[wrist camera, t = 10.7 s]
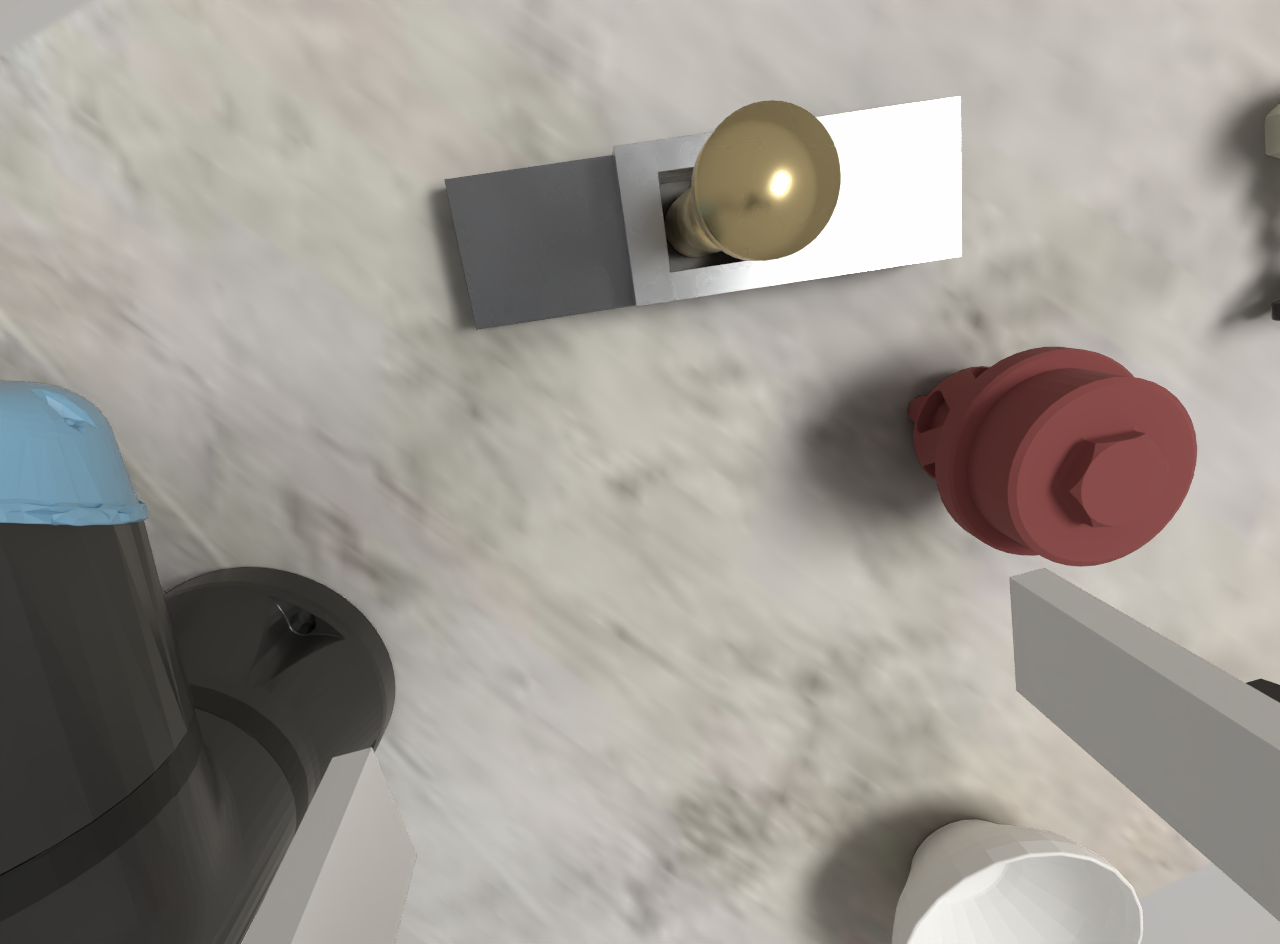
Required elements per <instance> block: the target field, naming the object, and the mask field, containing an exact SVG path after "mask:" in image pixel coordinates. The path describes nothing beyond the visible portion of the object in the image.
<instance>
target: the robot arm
mask: <svg viewBox="0 0 1280 944" xmlns="http://www.w3.org/2000/svg"><path fill="white" fill-rule="evenodd" d="M147 518H148V513H147V509H146V506H145V503H143V502H141V501H140V500H138V499H137V497H136V495H135V492H134V489H133V486H132V484H131V481H130V478H129V475H128V472H127V470H126V467H125V464H124V461H123V459H122V456H121V453H120V450H119V448H118V445H117V442H116V439H115V436H114V433H113V430H112V428H111V426H110V424H109V422H108V420H107V419H106V417H105V416H104V415H103V413H102V412H101V411H100V410H99V409H98V408H97V407H96V406H95V405H94V404H92V403H91V402H90V401H88V400H87V399H85V398H84V397H82V396H80V395H79V394H77V393H75V392H72V391H70V390H67V389H64V388H61V387H58V386H54V385H50V384H45V383H37V382H24V381H1V380H0V944H241V942H242V941H243V939H244V937H245V935H246V933H247V931H248V929H249V931H248V933H247V935H246V937H245V939H244V941H243V943H242V944H395V941H396V937H397V933H398V929H399V925H400V921H401V917H402V914H403V910H404V906H405V902H406V898H407V894H408V890H409V886H410V882H411V878H412V874H413V870H414V866H415V862H416V858H417V854H416V852H415V849H414V847H413V845H412V842H411V840H410V837H409V835H408V833H407V830H406V828H405V825H404V823H403V821H402V818H401V816H400V813H399V811H398V809H397V806H396V804H395V801H394V799H393V797H392V794H391V792H390V789H389V787H388V785H387V782H386V780H385V777H384V775H383V773H382V770H381V768H380V765H379V763H378V761H377V758H376V756H375V751H376V749H377V747H378V745H379V743H380V741H381V738H382V736H383V734H384V732H385V730H386V727H387V725H388V723H389V720H390V718H391V714H392V711H393V706H394V700H395V677H394V671H393V667H392V663H391V660H390V657H389V654H388V651H387V649H386V647H385V645H384V643H383V641H382V639H381V637H380V636H379V634H378V633H377V631H376V630H375V628H374V627H373V626H372V624H371V623H370V622H369V621H368V619H367V618H366V617H365V616H364V615H363V614H362V613H361V612H360V611H359V610H358V609H357V608H356V607H355V606H353V605H352V604H351V603H350V602H349V601H347V600H346V599H345V598H343V597H342V596H340V595H339V594H337V593H336V592H334V591H333V590H331V589H329V588H327V587H326V586H324V585H322V584H319V583H317V582H315V581H313V580H310V579H308V578H305V577H302V576H299V575H296V574H292V573H289V572H285V571H280V570H274V569H266V568H232V569H225V570H220V571H215V572H211V573H207V574H204V575H201V576H198V577H195V578H193V579H191V580H189V581H186V582H185V583H183V584H181V585H179V586H177V587H176V588H174V589H173V590H171V591H170V592H168V593H167V594H166V595H163V592H162V588H161V585H160V581H159V578H158V574H157V570H156V566H155V562H154V558H153V554H152V550H151V546H150V543H149V539H148V535H147V531H146V527H145V523H144V520H145V519H147ZM1009 578H1010V594H1011V611H1012V628H1013V644H1014V661H1015V677H1016V690H1017V691H1018V692H1019V693H1020V694H1021V695H1022V696H1023V697H1024V698H1026V699H1027V700H1028V701H1029V702H1030V703H1031V704H1032V705H1034V706H1035V707H1036V708H1037V709H1038V710H1039V711H1040V712H1042V713H1043V714H1044V715H1045V716H1046V717H1047V718H1048V719H1050V720H1051V721H1052V722H1053V723H1054V724H1055V725H1056V726H1058V727H1059V728H1060V729H1061V730H1062V731H1063V732H1064V733H1065V734H1067V735H1068V736H1069V737H1070V738H1071V739H1072V740H1073V741H1075V742H1076V743H1077V744H1078V745H1079V746H1080V747H1081V748H1083V749H1084V750H1085V751H1086V752H1087V753H1088V754H1089V755H1091V756H1092V757H1093V758H1094V759H1095V760H1096V761H1097V762H1099V763H1100V764H1101V765H1102V766H1103V767H1104V768H1105V769H1106V770H1108V771H1109V772H1110V773H1111V774H1112V775H1113V776H1114V777H1116V778H1117V779H1118V780H1119V781H1120V782H1121V783H1122V784H1124V785H1125V786H1126V787H1127V788H1128V789H1129V790H1130V791H1132V792H1133V793H1134V794H1135V795H1136V796H1137V797H1138V798H1140V799H1141V800H1142V801H1143V802H1144V803H1145V804H1146V805H1147V806H1149V807H1150V808H1151V809H1152V810H1153V811H1154V812H1155V813H1157V814H1158V815H1159V816H1160V817H1161V818H1162V819H1163V820H1165V821H1166V822H1167V823H1168V824H1169V825H1170V826H1171V827H1173V828H1174V829H1175V830H1176V831H1177V832H1178V833H1179V834H1181V835H1182V836H1183V837H1184V838H1185V839H1186V840H1187V841H1188V842H1190V843H1191V844H1192V845H1193V846H1194V847H1195V848H1196V849H1198V850H1199V851H1200V852H1201V853H1202V854H1203V855H1204V856H1206V857H1207V858H1208V859H1209V860H1210V861H1211V862H1212V863H1214V864H1215V865H1216V866H1217V867H1218V868H1219V869H1220V870H1222V871H1223V872H1224V873H1225V874H1226V875H1227V876H1229V878H1231V879H1232V880H1233V881H1234V882H1235V883H1236V884H1237V885H1239V886H1240V887H1241V888H1242V889H1243V890H1244V891H1245V892H1247V893H1248V894H1249V895H1250V896H1251V897H1252V898H1253V899H1255V900H1256V901H1257V902H1258V903H1259V904H1260V905H1261V906H1263V907H1264V908H1265V909H1266V910H1267V911H1268V912H1269V913H1270V914H1272V915H1273V916H1274V917H1275V918H1276V919H1278V921H1280V685H1278V684H1275V683H1272V682H1269V681H1266V680H1264V679H1258V680H1254V681H1251V682H1247V683H1244V682H1243V681H1241V680H1239V679H1237V678H1236V677H1234V676H1232V675H1230V674H1229V673H1227V672H1225V671H1223V670H1222V669H1220V668H1218V667H1216V666H1215V665H1213V664H1211V663H1209V662H1208V661H1206V660H1204V659H1202V658H1201V657H1199V656H1197V655H1196V654H1194V653H1192V652H1190V651H1189V650H1187V649H1185V648H1183V647H1182V646H1180V645H1178V644H1176V643H1175V642H1173V641H1171V640H1169V639H1168V638H1166V637H1164V636H1162V635H1161V634H1159V633H1157V632H1155V631H1154V630H1152V629H1150V628H1148V627H1147V626H1145V625H1143V624H1142V623H1140V622H1138V621H1136V620H1135V619H1133V618H1131V617H1129V616H1128V615H1126V614H1124V613H1122V612H1121V611H1119V610H1117V609H1115V608H1114V607H1112V606H1110V605H1108V604H1107V603H1105V602H1103V601H1101V600H1100V599H1098V598H1096V597H1094V596H1093V595H1091V594H1089V593H1088V592H1086V591H1084V590H1082V589H1081V588H1079V587H1077V586H1075V585H1074V584H1072V583H1070V582H1068V581H1067V580H1065V579H1063V578H1061V577H1060V576H1058V575H1056V574H1054V573H1053V572H1051V571H1049V570H1047V569H1046V568H1043V569H1039V570H1035V571H1031V572H1028V573H1024V574H1020V575H1016V576H1013V577H1009ZM254 917H255V918H254ZM253 919H254V920H253ZM252 921H253V922H252ZM251 923H252V924H251ZM250 925H251V927H250ZM249 927H250V928H249Z"/></svg>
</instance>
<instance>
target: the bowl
mask: <svg viewBox="0 0 1280 944" xmlns="http://www.w3.org/2000/svg"><path fill="white" fill-rule="evenodd" d="M1142 917H1143V916H1142V907H1141V905H1140V903H1139V900H1138V898H1137V896H1136V893H1135V891H1134V888H1133V886H1132V885H1131V884H1130V883H1129V882H1128V881H1127V880H1126V879H1125V878H1124V877H1123V876H1122V875H1121V874H1120V873H1119V872H1118V871H1117V870H1116V869H1115V868H1114V867H1113V866H1112V865H1111V864H1110V863H1109V862H1107V861H1106V860H1105V859H1104V858H1103V857H1102V856H1100V855H1098V854H1096V853H1095V852H1093V851H1091V850H1090V849H1088V848H1086V847H1084V846H1082V845H1080V844H1078V843H1076V842H1074V841H1072V840H1070V839H1068V838H1066V837H1064V836H1061V835H1058V834H1055V833H1052V832H1049V831H1044V830H1038V829H1033V828H1027V827H1022V826H1016V825H1000V824H994V823H992V822H988V821H983V820H978V819H973V820H960V821H957V822H953V823H950V824H947V825H945V826H943V827H941V828H939V829H937V830H936V831H935V832H933V833H932V834H931V835H929V836H928V837H927V838H926V839H925V840H924V841H923V843H922V844H921V845H920V846H919V847H918V849H917V851H916V853H915V855H914V857H913V859H912V864H911V870H910V874H909V877H908V879H907V882H906V885H905V887H904V889H903V891H902V893H901V895H900V898H899V901H898V904H897V907H896V913H895V919H894V926H893V933H892V942H891V944H1140V942H1141V938H1142V935H1143V918H1142Z"/></svg>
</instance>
